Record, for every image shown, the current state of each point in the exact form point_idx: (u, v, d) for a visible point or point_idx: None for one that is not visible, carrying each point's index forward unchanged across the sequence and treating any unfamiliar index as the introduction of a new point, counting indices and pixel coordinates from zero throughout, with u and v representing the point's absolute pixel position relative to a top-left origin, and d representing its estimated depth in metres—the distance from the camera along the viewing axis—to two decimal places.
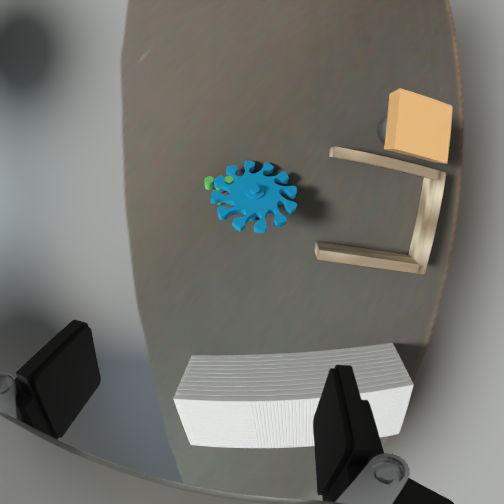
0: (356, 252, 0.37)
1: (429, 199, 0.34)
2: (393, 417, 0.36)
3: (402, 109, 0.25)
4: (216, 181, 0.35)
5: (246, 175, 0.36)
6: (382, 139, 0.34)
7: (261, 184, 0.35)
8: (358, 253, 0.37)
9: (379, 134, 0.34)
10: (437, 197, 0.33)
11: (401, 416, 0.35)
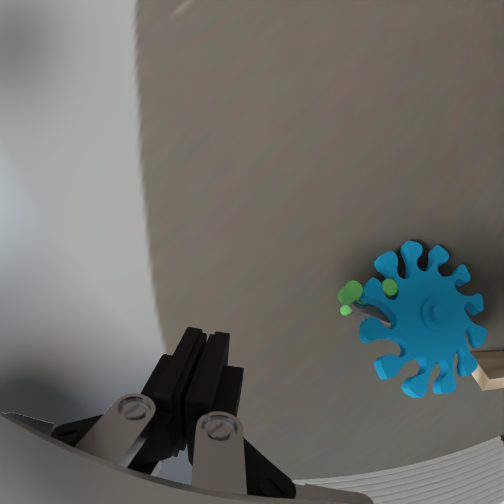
0: None
1: None
2: None
3: None
4: (369, 294, 0.16)
5: (415, 276, 0.17)
6: None
7: (440, 295, 0.16)
8: None
9: None
10: None
11: None
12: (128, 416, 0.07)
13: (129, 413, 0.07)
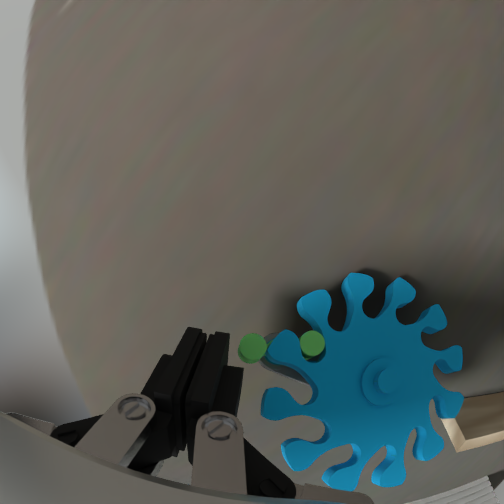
0: None
1: None
2: None
3: None
4: (276, 354, 0.11)
5: (357, 326, 0.12)
6: None
7: (395, 354, 0.12)
8: None
9: None
10: None
11: None
12: (128, 416, 0.07)
13: (129, 413, 0.07)
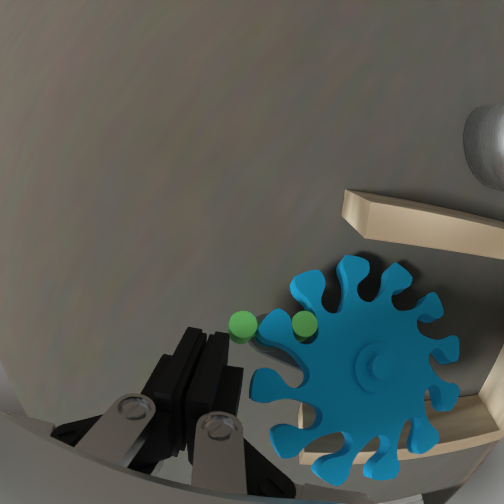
0: None
1: None
2: None
3: None
4: (267, 333, 0.11)
5: (352, 309, 0.12)
6: (478, 167, 0.11)
7: (390, 339, 0.11)
8: None
9: (470, 153, 0.11)
10: None
11: None
12: (128, 416, 0.07)
13: (129, 413, 0.07)
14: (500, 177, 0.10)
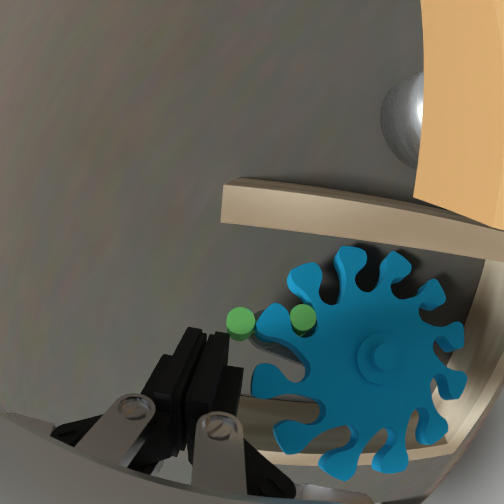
0: None
1: (502, 310, 0.11)
2: None
3: None
4: (265, 329, 0.11)
5: (350, 300, 0.12)
6: (396, 146, 0.11)
7: (392, 329, 0.11)
8: None
9: (387, 131, 0.12)
10: None
11: None
12: (128, 416, 0.07)
13: (129, 413, 0.07)
14: (416, 154, 0.10)
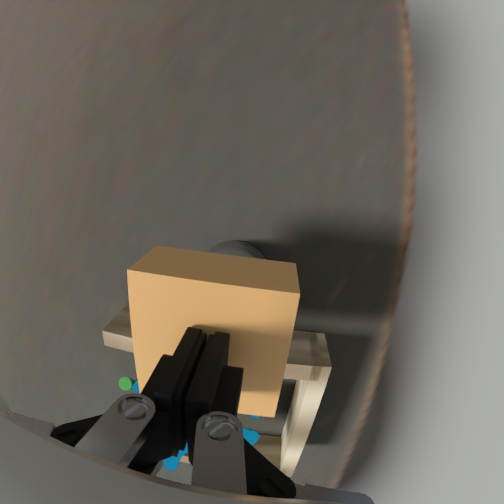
0: None
1: (299, 396, 0.20)
2: None
3: (140, 321, 0.12)
4: (136, 389, 0.20)
5: None
6: None
7: None
8: None
9: None
10: (308, 403, 0.18)
11: None
12: (128, 416, 0.07)
13: (129, 413, 0.07)
14: None
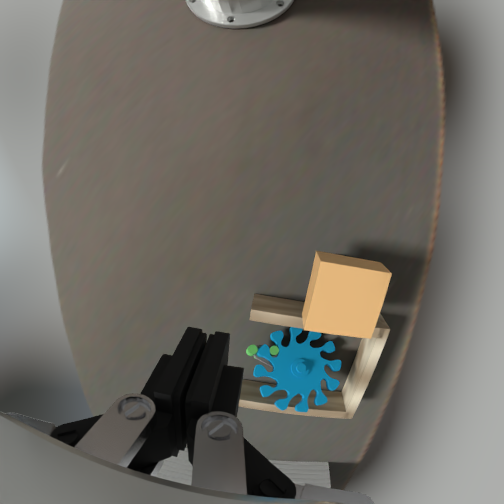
0: (277, 398, 0.34)
1: (366, 352, 0.32)
2: None
3: (320, 287, 0.25)
4: (260, 353, 0.32)
5: (292, 346, 0.33)
6: None
7: (307, 358, 0.32)
8: None
9: None
10: (374, 354, 0.30)
11: None
12: (128, 416, 0.07)
13: (129, 413, 0.07)
14: None
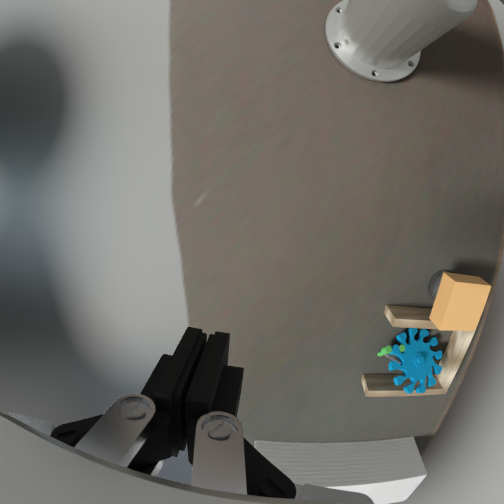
0: (395, 385, 0.40)
1: (460, 341, 0.37)
2: (405, 492, 0.39)
3: (452, 299, 0.30)
4: (394, 351, 0.37)
5: (412, 343, 0.38)
6: (431, 295, 0.37)
7: (422, 351, 0.38)
8: (397, 386, 0.40)
9: (430, 290, 0.38)
10: (467, 342, 0.36)
11: (410, 491, 0.39)
12: (128, 416, 0.07)
13: (129, 413, 0.07)
14: None
